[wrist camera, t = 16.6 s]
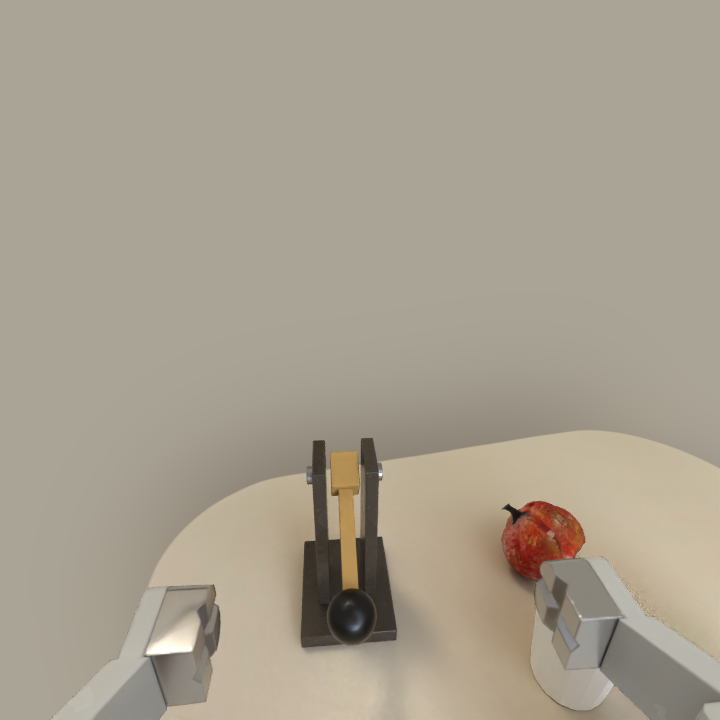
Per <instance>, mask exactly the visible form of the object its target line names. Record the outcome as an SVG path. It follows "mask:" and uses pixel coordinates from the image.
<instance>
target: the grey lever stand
mask: <svg viewBox="0 0 720 720" xmlns="http://www.w3.org/2000/svg"><path fill="white" fill-rule="evenodd" d="M381 480H382V465H381V463H377V459H376V454H375V449H374V443H373V438H363V439H361V528H360V538H356V554H357V571H358V588H359V589H360V590H362V591H364V592H366V593H367V594H368V595H369V596H370V597H371V599H372V600H373V602H374V605H375V608H376V613H377V619H376V625H375V628H374V630H373V632H372V634H371V635H370V637H369V638H368V639H367V640H365V641H364V642H375V641H388V640H396V637H397V628H396V621H395V615H394V609H393V602H392V596H391V590H390V584H389V577H388V571H387V565H386V559H385V552H384V546H383V540H382V537H377V525H378V488H379V481H381ZM307 484H313V502H314V520H315V538H316V541H305V543H304V569H303V596H302V622H301V644H302V647H313V646H326V645H338V644H343V643H341V642H339V641H338V640H337V639H335V638H334V636H333V635H332V634H331V632H330V630H329V627H328V623H327V610H328V607H329V604H330V602H331V600H332V599H333V597H334V596H335V595H336V594H337V593H338V592H340V591H342V566H341V542H340V539H337V540H329V537H328V510H327V483H326V458H325V441H324V440H319V441H313V456H312V466H307ZM362 643H363V642H362Z"/></svg>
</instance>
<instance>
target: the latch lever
mask: <svg viewBox="0 0 720 720" xmlns="http://www.w3.org/2000/svg"><path fill="white" fill-rule="evenodd" d="M330 461H331V462H330V464H331V494H332V496H338V495H339V519H340V542H341V566H342V591H340V592H338V593H337V594H336V595H335V596H334V597H333V599H332V600H331V602H330V604H329V607H328V610H327V623H328V627H329V630H330V632H331V634H332V635H333V636H334V638H335V639H337V640H338V641H339V642H341V643H343V644H346V645H358V644H360V643H362V642H364V641H365V640H367V639H368V638H369V637H370V635H371V634H372V632H373V630H374V628H375V625H376V619H377V613H376V608H375V605H374V602H373V600H372V599H371V597H370V596H369V595H368V594H367V593H366V592H364V591H362V590H360V589H359V588H358V571H357V554H356V538H355V521H354V505H353V495H356V494H359V487H360V479H359V465H358V452H357V451H347V452H330Z"/></svg>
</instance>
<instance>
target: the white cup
mask: <svg viewBox="0 0 720 720" xmlns="http://www.w3.org/2000/svg"><path fill="white" fill-rule="evenodd" d="M552 636H553V632H552V631H551V630H550V629H549V628H547V627H546V626H545V625H544V624H543V623H542V621H541V619H540V616H539V614H538V611H537V608H536V612H535V621H534V629H533V638H532V647H531V659H530V665H531V668H532V671H533V674H534V677H535V679H536V681H537V682H538V683H539V685H540V686H541V688H542V689H543V690H544V692H545V693H546V694H547V695H549V696H550V697H551V698H552V699H554V700H555V701H556V702H557V703H559V704H560V705H563V706H565V707H568V708H570V709H573V710H592V709H593V708H595V707H597V706H598V705H600V704H601V703H602V702H603V700H604V699H605V697H606V696H607V694H608V693H609V691H610V690H611V688H612V687H613V685H614V684H613V683H612V682H611V681H610V680H609V679H608V678H607V677H606V676H605V675H604V674H603V673H602V672H601V671H600V668H595V669H577V670H564V668H563V665H562V663H561V661H560V659H559V657H558V655H557V653H556V651H555V649H554V647H553V644H552V642H551V641H552Z"/></svg>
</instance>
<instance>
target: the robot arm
mask: <svg viewBox="0 0 720 720" xmlns="http://www.w3.org/2000/svg"><path fill="white" fill-rule="evenodd" d="M539 572H540V574H541V576H542V578H541V579H540V580H539V581H538V582H537V583H536V586H535V591H534V596H535V605H536V608H537V611H538V614H539V616H540V619H541V621H542V623H543V624H544V625H545V626H546V627H547V628H549V629H550V630H551V631H552V632H553V636H552V641H551V642H552V644H553V647H554V649H555V651H556V653H557V655H558V657H559V659H560V661H561V663H562V665H563V668H564V670H577V669H595V668H600V671H601V672H602V673H603V674H604V675H605V676H606V677H607V678H608V679H609V680H610V681H611V682H612V683H613V684H614V685H615V686H616V687H617V688H618V689H619V690H620V691H621V692H622V693H623V694H625V695H626V696H627V697H628V698H629V699H630V700H631V701H632V702H633V703H634V704H635V705H636V706H637V707H638V708H639V709H640V710H641V711H642V712H643V713H644V714H645V715H646V716H647V717H648V718H649V719H650V720H720V662H719V661H718V660H716V659H715V658H713V657H712V656H711V655H709V654H708V653H706V652H705V651H703V650H702V649H700V648H699V647H697V646H696V645H694V644H693V643H691V642H690V641H688V640H687V639H686V638H684V637H683V636H681V635H680V634H678V633H677V632H675V631H674V630H672V629H671V628H669V627H668V626H666V625H665V624H664V623H662V622H661V621H659V620H658V619H656V618H655V617H653V616H646V614H645V613H644V612H643V610H642V609H641V607H640V606H639V604H638V603H637V602H636V600H635V599H634V597H633V596H632V595H631V593H630V592H629V590H628V589H627V587H626V586H625V585H624V583H623V582H622V580H621V579H620V578H619V576H618V575H617V573H616V572H615V570H614V569H613V568H612V566H611V565H610V563H609V562H608V561H607V560H606V559H605V558H604V557H589V558H570V559H558V560H547V561H544V562H542V563H541V566H540V570H539ZM215 597H216V591H215V587H214V585H193V586H169V587H152V588H147V589H146V591H145V592H144V594H143V595H142V597H141V600H140V602H139V605H138V607H137V610H136V612H135V615H134V617H133V620H132V622H131V625H130V627H129V630H128V632H127V635H126V637H125V640H124V643H123V645H122V648H121V650H120V653H119V655H118V658H117V659H113V660H109V661H108V662H107V663H106V664H105V665H104V666H103V667H102V668H101V669H100V670H99V671H98V672H97V673H96V674H95V675H94V676H93V677H92V678H91V679H90V680H89V681H88V682H87V683H86V684H85V685H84V686H83V687H82V688H81V689H80V690H79V691H78V692H77V693H76V694H75V695H74V696H73V697H72V698H71V699H70V700H69V701H68V702H67V703H66V704H65V705H64V706H63V707H62V708H61V709H60V710H59V711H58V712H57V713H56V714H55V715H54V716H53V717H52V718H51V719H50V720H160V718H161V717H162V716H163V714H164V713H165V711H166V710H167V707H168V706H177V705H185V704H193V703H202V702H206V700H207V695H208V690H209V686H210V681H211V676H212V671H213V669H212V665H211V660H210V657H211V656H212V655H213V654H214V653H215V651H216V650H217V646H218V641H219V634H220V611H219V606H218V605H216V604H215V603H214V601H215Z"/></svg>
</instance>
